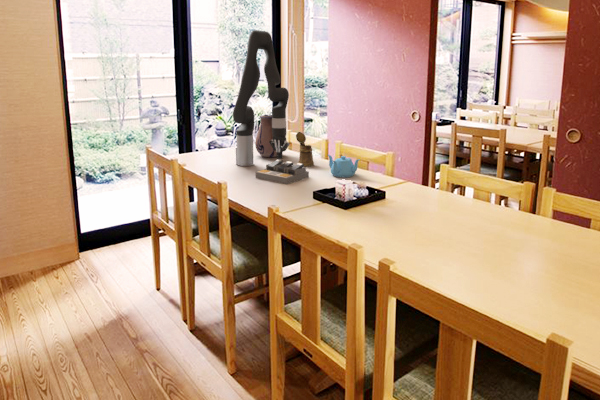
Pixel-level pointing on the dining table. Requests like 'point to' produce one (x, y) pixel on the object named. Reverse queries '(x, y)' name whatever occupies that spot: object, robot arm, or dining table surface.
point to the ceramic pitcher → (265, 137)
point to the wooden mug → (304, 151)
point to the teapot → (342, 166)
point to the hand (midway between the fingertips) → (279, 158)
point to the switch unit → (282, 174)
